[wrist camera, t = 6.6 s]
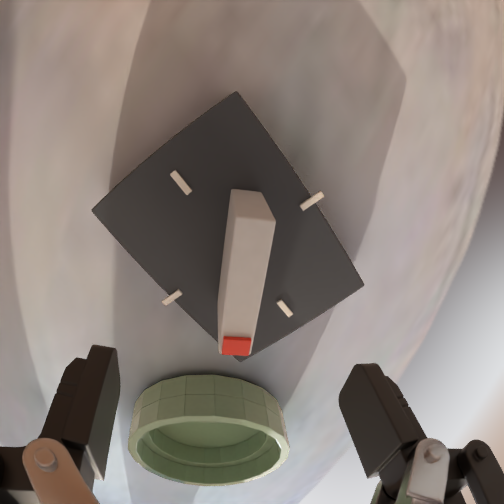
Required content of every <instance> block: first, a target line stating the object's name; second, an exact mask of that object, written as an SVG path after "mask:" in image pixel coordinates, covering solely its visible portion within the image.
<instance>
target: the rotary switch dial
mask: <svg viewBox="0 0 504 504" xmlns="http://www.w3.org/2000/svg"><path fill="white" fill-rule="evenodd" d="M232 189H239V190H248V191H256V192H261V193H262V194H263V196H264V198H265V200H266V202H267V204H268V206H269V208H270V210H271V212H272V214H273V216H274V218H275V220H276V225H275V230H274V235H273V241H272V246H271V252H270V257H269V262H268V268H267V273H266V278H265V283H264V289H263V294H262V299H261V304H260V309H259V314H258V319H257V324H256V330H255V335H254V340H253V345H252V350H251V354H250V355H249V356H240V355H233V356H234V357H235V358H236V359H237V360H238V361H239V362H242V361H243V360H245V359H247V358H249V357H251V356H252V355H254V354H256V353H258V352H259V351H261V350H263V349H265V348H266V347H268V346H270V345H271V344H273V343H275V342H277V341H278V340H280V339H282V338H283V337H285V336H287V335H288V334H290V333H292V332H293V331H295V330H297V329H298V328H300V327H301V326H303V325H305V324H306V323H308V322H309V321H311V320H313V319H314V318H316V317H317V316H319V315H321V314H322V313H324V312H325V311H327V310H328V309H330V308H332V307H333V306H335V305H336V304H338V303H339V302H341V301H342V300H344V299H345V298H347V297H348V296H350V295H351V294H353V293H354V292H356V291H357V290H359V289H360V288H362V287H363V286H364V283H363V281H362V279H361V278H360V276H359V274H358V272H357V271H356V269H355V267H354V266H353V264H352V262H351V260H350V259H349V257H348V255H347V254H346V252H345V250H344V249H343V247H342V245H341V244H340V242H339V240H338V239H337V237H336V235H335V234H334V232H333V231H332V229H331V227H330V226H329V224H328V222H327V221H326V219H325V218H324V216H323V214H322V213H321V211H320V210H319V208H318V207H317V205H316V202H317V201H318V200H320V199H321V198H323V197H324V195H323V193H322V192H321V191H319V192H318V193H316V194H315V195H313V196H312V197H311V196H310V194H309V193H308V191H307V190H306V188H305V187H304V185H303V184H302V182H301V180H300V179H299V177H298V176H297V174H296V173H295V172H294V170H293V169H292V167H291V166H290V164H289V163H288V161H287V160H286V158H285V157H284V155H283V154H282V152H281V151H280V150H279V148H278V147H277V145H276V144H275V142H274V141H273V140H272V138H271V137H270V135H269V134H268V133H267V131H266V130H265V128H264V127H263V126H262V124H261V123H260V121H259V120H258V119H257V117H256V116H255V115H254V113H253V112H252V111H251V109H250V108H249V107H248V105H247V104H246V103H245V101H244V100H243V99H242V97H241V96H240V95H239V93H238V92H237V91H236V92H234V93H232V94H231V95H229V96H228V97H227V98H225V99H224V100H222V101H221V102H219V103H218V104H217V105H215V106H214V107H212V108H211V109H210V110H208V111H207V112H206V113H204V114H203V115H201V116H200V117H199V118H197V119H196V120H195V121H193V122H192V123H191V124H189V125H188V126H187V127H186V128H184V129H183V130H182V131H180V132H179V133H178V134H177V135H175V136H174V137H173V138H172V139H170V140H169V141H168V142H167V143H165V144H164V145H163V146H162V147H160V148H159V149H158V150H157V151H156V152H154V153H153V154H152V155H151V156H150V157H148V158H147V159H146V160H145V161H144V162H143V163H141V164H140V165H139V166H138V167H137V168H136V169H135V170H133V171H132V172H131V173H130V174H129V175H128V176H127V177H126V178H124V179H123V180H122V181H121V182H120V183H119V184H118V185H117V186H116V187H115V188H114V189H112V190H111V191H110V192H109V193H108V194H107V195H106V196H105V197H104V198H103V199H102V200H101V201H100V202H99V203H98V204H97V205H96V206H95V207H94V208H93V209H92V212H93V213H94V214H95V216H96V217H97V218H98V219H99V220H100V221H101V223H102V224H103V225H104V226H105V227H106V228H107V229H108V230H109V232H110V233H111V234H112V235H113V236H114V237H115V238H116V239H117V241H118V242H119V243H120V244H121V245H122V246H123V247H124V248H125V249H126V250H127V252H128V253H129V254H130V255H131V256H132V257H133V258H134V259H135V260H136V261H137V262H138V263H139V264H140V266H141V267H142V268H143V269H144V270H145V271H146V272H147V273H148V274H149V275H150V276H151V277H152V278H153V279H154V280H155V281H156V282H157V283H158V284H159V285H160V286H161V287H162V288H163V289H164V290H165V291H166V292H167V293H168V294H169V296H168V297H167V298H165V299H164V300H162V303H163V304H164V305H165V306H166V305H168V304H169V303H170V302H172V301H173V300H174V301H175V302H177V303H178V304H179V305H180V306H181V307H182V308H183V309H184V310H185V311H186V312H187V313H188V314H189V315H190V316H191V317H192V318H193V319H194V320H195V321H196V322H197V323H198V324H199V325H200V326H201V327H202V328H203V329H204V330H205V331H207V332H208V333H209V334H210V335H211V336H212V337H213V338H214V339H215V340H216V341H217V342H218V303H217V302H218V293H219V284H220V276H221V267H222V259H223V250H224V242H225V234H226V226H227V218H228V210H229V202H230V195H231V190H232Z"/></svg>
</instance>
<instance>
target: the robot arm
mask: <svg viewBox="0 0 504 504" xmlns="http://www.w3.org/2000/svg"><path fill="white" fill-rule="evenodd" d="M119 395H120V374H119V366H118V357H117V350H116V348H112V347H106V346H100V345H92V347H91V349H90V352H89V354H88V357H87V359H82V358H75V359H74V360H73V361H72V362H71V363H70V364H69V365H68V366H67V367H66V369H65V371H64V373H63V376H62V378H61V383H59V386H58V388H57V393H56V394H55V396H54V399H53V402H52V404H51V407H50V410H49V412H48V415H47V418H46V421H45V424H44V427H43V430H42V432H41V434H40V436H39V437H38V438H37V439H35V440H33V441H31V442H30V443H29V444H28V445H27V446H24V447H0V504H100V503H99V502H98V500H97V499H96V497H95V496H94V494H93V492H92V490H93V483H94V479H98V480H103V481H104V477H105V470H106V464H107V458H108V452H109V446H110V441H111V435H112V430H113V425H114V420H115V415H116V410H117V405H118V401H119ZM339 407H340V409H341V412H342V414H343V417H344V420H345V422H346V425H347V427H348V430H349V432H350V435H351V437H352V440H353V442H354V445H355V447H356V450H357V453H358V455H359V458H360V460H361V463H362V466H363V468H364V471H365V473H366V476H367V478H372V477H376V476H380V479H381V481H380V482H379V483H378V485H377V487H376V490H375V493H374V495H373V498H372V501H371V503H370V504H466V503H465V500H464V498H463V496H462V493H461V490H462V489H463V488H464V487H466V486H467V485H468V486H469V488H470V491H471V493H472V495H473V497H474V500H475V502H476V504H504V473H503V471H502V469H501V467H500V465H499V464H498V462H497V460H496V458H495V456H494V454H493V453H492V451H491V449H490V447H489V446H488V445H487V444H486V443H484V442H483V441H480V440H472V441H470V442H469V443H468V444H467V445H466V446H465V447H464V448H463V449H447V448H446V446H445V445H444V444H443V443H442V442H440V441H438V440H436V439H433V438H427V437H426V435H425V433H424V432H423V430H422V428H421V426H420V424H419V423H418V421H417V419H416V417H415V415H414V413H413V412H412V410H411V408H410V407H408V403H407V401H406V399H405V398H403V394H402V392H401V391H400V389H399V387H398V386H397V385H396V384H395V383H394V382H393V381H392V380H391V379H390V378H389V377H388V376H385V375H384V373H383V372H382V370H381V368H380V367H379V365H378V364H376V363H370V364H356V365H355V366H354V367H353V369H352V371H351V373H350V375H349V377H348V379H347V380H346V382H345V384H344V386H343V388H342V390H341V391H340V394H339Z"/></svg>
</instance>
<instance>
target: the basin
mask: <svg viewBox="0 0 504 504" xmlns="http://www.w3.org/2000/svg"><path fill="white" fill-rule="evenodd" d="M289 449H290V446H289V441H288V437H287V432H286V427H285V423H284V418H283V413H282V410H281V408H280V406H279V404H278V401H277V400H276V398H274V397H273V396H272V395H271V394H269V393H268V392H267V391H266V390H265V389H263V388H262V387H259V386H256V385H254V384H251V383H249V382H247V381H244V380H241V379H237V378H231V377H225V376H219V375H185V376H180V377H176V378H171V379H167V380H162V381H160V382H158V383H156V384H155V385H153V386H151V387H149V388H147V389H145V390H144V392H143V393H142V394H141V395H140V397H139V398H138V399H137V400H136V402H135V406H134V411H133V417H132V422H131V428H130V433H129V440H128V450H129V452H130V454H131V455H132V457H133V459H134V460H135V461H136V462H137V463H138V464H140V465H141V466H142V467H143V468H145V469H146V470H148V471H150V472H152V473H154V474H156V475H158V476H160V477H162V478H165V479H169V480H172V481H176V482H180V483H183V484H191V485H199V486H225V485H232V484H239V483H245V482H248V481H251V480H254V479H258V478H261V477H263V476H265V475H267V474H269V473H271V472H272V471H274V470H276V469H277V468H279V467H280V466H281V465H282V464H283V463H284V461H285V460H286V459H287V458H288V453H289Z"/></svg>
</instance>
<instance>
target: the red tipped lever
mask: <svg viewBox="0 0 504 504" xmlns="http://www.w3.org/2000/svg"><path fill="white" fill-rule="evenodd" d="M275 225H276V220H275V218H274V216H273V214H272V212H271V210H270V208H269V206H268V204H267V202H266V200H265V198H264V196H263V194H262V193H261V192H256V191H248V190H239V189H232V190H231V195H230V202H229V210H228V218H227V226H226V234H225V242H224V250H223V259H222V267H221V276H220V284H219V293H218V302H217V303H218V352H219V353H221V354H222V355H240V356H249V355H250V354H251V350H252V345H253V340H254V335H255V330H256V324H257V319H258V314H259V309H260V304H261V299H262V294H263V289H264V283H265V278H266V273H267V268H268V262H269V257H270V252H271V246H272V241H273V235H274V230H275Z"/></svg>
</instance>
